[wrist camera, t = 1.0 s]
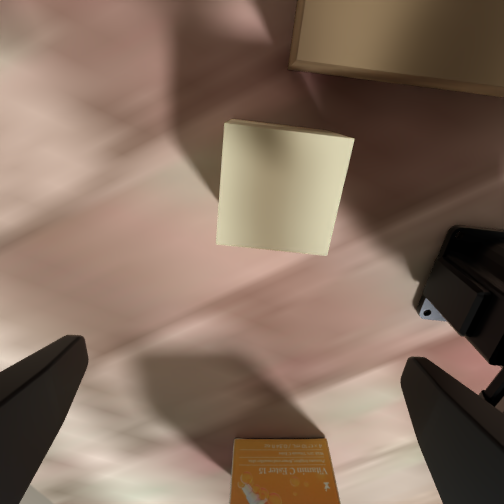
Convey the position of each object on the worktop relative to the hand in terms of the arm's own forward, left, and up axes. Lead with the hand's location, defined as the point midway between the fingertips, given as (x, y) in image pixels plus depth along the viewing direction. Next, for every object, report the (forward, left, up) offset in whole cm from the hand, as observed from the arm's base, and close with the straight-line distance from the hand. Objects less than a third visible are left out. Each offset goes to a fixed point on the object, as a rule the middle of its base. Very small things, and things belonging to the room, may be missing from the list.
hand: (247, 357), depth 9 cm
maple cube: (-1, -3, -11) cm, 12 cm away
